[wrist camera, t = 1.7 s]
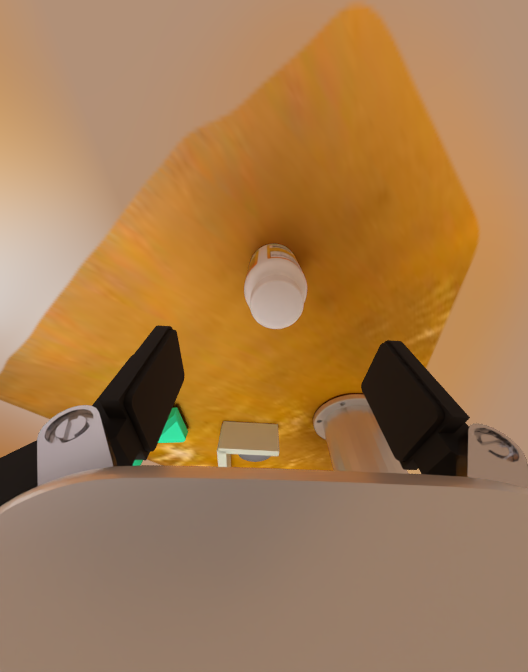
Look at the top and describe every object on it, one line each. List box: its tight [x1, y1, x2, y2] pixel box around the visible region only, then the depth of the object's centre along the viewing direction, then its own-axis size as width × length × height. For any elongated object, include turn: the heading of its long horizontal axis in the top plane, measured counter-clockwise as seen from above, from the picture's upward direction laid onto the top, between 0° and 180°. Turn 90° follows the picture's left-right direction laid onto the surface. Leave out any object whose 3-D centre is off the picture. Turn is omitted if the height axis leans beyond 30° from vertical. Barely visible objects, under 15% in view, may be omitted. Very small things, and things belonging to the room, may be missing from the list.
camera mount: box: [132, 407, 188, 466], centre depth 35 cm, size 12×8×10 cm, turn 94°
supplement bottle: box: [244, 244, 307, 329], centre depth 20 cm, size 5×5×10 cm
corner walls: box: [217, 421, 279, 467], centre depth 42 cm, size 10×17×5 cm, turn 175°
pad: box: [238, 454, 270, 462], centre depth 45 cm, size 7×7×1 cm
